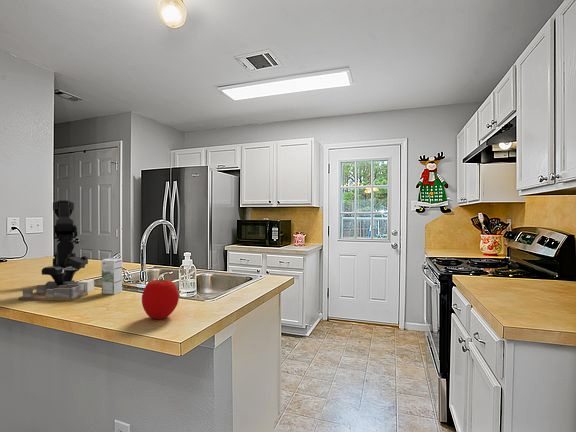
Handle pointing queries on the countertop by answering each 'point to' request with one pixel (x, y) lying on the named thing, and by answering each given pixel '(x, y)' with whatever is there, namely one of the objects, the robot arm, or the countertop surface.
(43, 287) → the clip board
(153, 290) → the red apple
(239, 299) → the countertop surface
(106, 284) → the syrup box
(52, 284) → the gray rod with block
